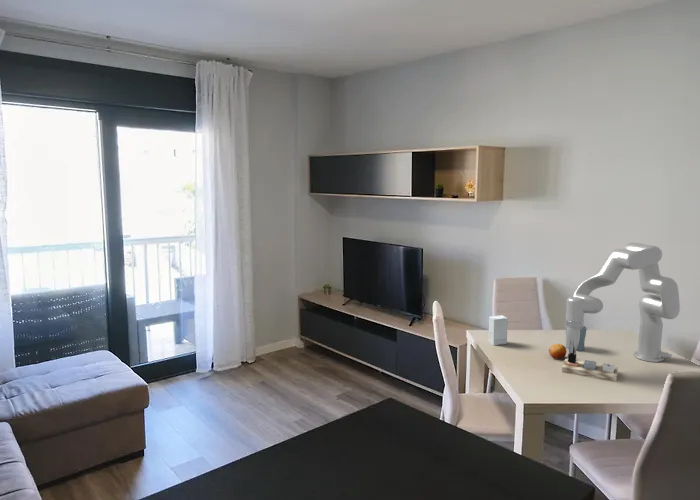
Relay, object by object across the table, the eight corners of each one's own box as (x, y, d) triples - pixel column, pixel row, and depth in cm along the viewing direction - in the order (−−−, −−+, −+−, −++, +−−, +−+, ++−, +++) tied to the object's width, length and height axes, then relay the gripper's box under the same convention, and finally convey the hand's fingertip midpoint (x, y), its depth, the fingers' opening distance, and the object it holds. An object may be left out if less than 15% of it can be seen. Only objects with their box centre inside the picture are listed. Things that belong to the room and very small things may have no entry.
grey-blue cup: (581, 345, 259) (582, 323, 258) (588, 352, 250) (590, 329, 248) (561, 344, 260) (562, 323, 259) (568, 351, 250) (569, 328, 249)
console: (617, 372, 223) (617, 367, 223) (616, 381, 213) (616, 376, 212) (565, 363, 234) (565, 358, 234) (561, 371, 224) (562, 366, 223)
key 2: (595, 366, 224) (596, 361, 223) (595, 370, 220) (595, 364, 220) (584, 364, 226) (585, 359, 226) (583, 368, 222) (584, 362, 222)
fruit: (571, 358, 237) (563, 344, 236) (556, 365, 238) (548, 351, 238) (568, 352, 244) (560, 339, 244) (553, 359, 246) (545, 346, 246)
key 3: (577, 366, 228) (578, 361, 227) (576, 370, 224) (576, 364, 224) (567, 364, 230) (567, 359, 230) (565, 368, 226) (566, 362, 226)
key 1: (614, 369, 220) (614, 364, 220) (613, 373, 216) (614, 367, 216) (602, 368, 222) (603, 362, 222) (602, 371, 218) (602, 365, 218)
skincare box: (501, 341, 267) (502, 314, 265) (507, 344, 261) (508, 317, 259) (487, 342, 265) (488, 315, 263) (493, 345, 260) (494, 318, 258)
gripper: (567, 318, 232) (565, 355, 235) (563, 326, 220) (560, 365, 222) (584, 321, 229) (582, 358, 231) (581, 329, 216) (578, 368, 218)
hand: (571, 362), depth 227 cm, fingers closed
